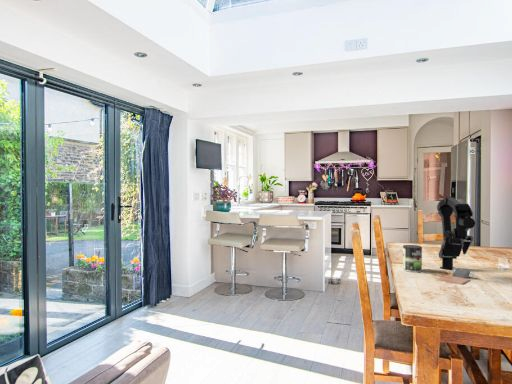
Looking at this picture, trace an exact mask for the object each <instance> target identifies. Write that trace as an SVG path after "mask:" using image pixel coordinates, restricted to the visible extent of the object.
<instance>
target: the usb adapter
mask: <svg viewBox="0 0 512 384" xmlns="http://www.w3.org/2000/svg"><path fill="white" fill-rule="evenodd" d="M452 276H453V277H459V278H465V279H471V277H472V278H473V277H475V273H471V270H470V269H464V268H459V267H455V268H453V269H452Z"/></svg>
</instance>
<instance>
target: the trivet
mask: <svg viewBox="0 0 512 384" xmlns="http://www.w3.org/2000/svg"><path fill="white" fill-rule="evenodd" d="M436 281H439V282H440V281H441V282H446V283H450V284H457V285H464V284H466V283H467V282H470V281H471V278H469V279H466V278H460V277H454V276H453V275H446V274H445V275H443V276H441V277H438V278H436Z"/></svg>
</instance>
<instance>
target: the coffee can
mask: <svg viewBox="0 0 512 384" xmlns="http://www.w3.org/2000/svg"><path fill="white" fill-rule="evenodd" d="M402 249H403V250H402V270H403V271H405V272H409V273H420V272H422V270H423V269H422V268H423V267H422V266H423V263H422V261H423V257H422V256H423V246H421V245H415V244H404V245H403V246H402Z"/></svg>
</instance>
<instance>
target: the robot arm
mask: <svg viewBox="0 0 512 384" xmlns="http://www.w3.org/2000/svg"><path fill="white" fill-rule="evenodd" d="M436 210H437V213H438V215H439V216H440V217H441V225H442V237H443V238H442V239H443V241H442V243H441V245H440V250H439V252H438V258H440V259H441V261H442V262H441V266H440V267H439V269H442V270H443V269H444V270H449V271H450V270H452V271H453V268H456V267H455V266H454V260H457V258H458V257H460V255H461V253H462V254H463V255H466V254H467V252H468V250H469V248H470V247H471V245H472V243H473V241H474V237H473V235H468V231H469V230H470V229H471V230H472V229H473V228H474V227H475V226H476V221H475V219H473V218H472V217H473V214H474V212H473V210H472V208H471V206H470V205H469V203H468V202H460V201H458V199H456V198H455V197H453V196H445V197H444V198H443V199H441V200H440V201H439V202H438V203H437V205H436ZM452 214H454V218H455V220H454V221H455V225H454V226H455V228H453V231H452V219H451V217H452Z"/></svg>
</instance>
